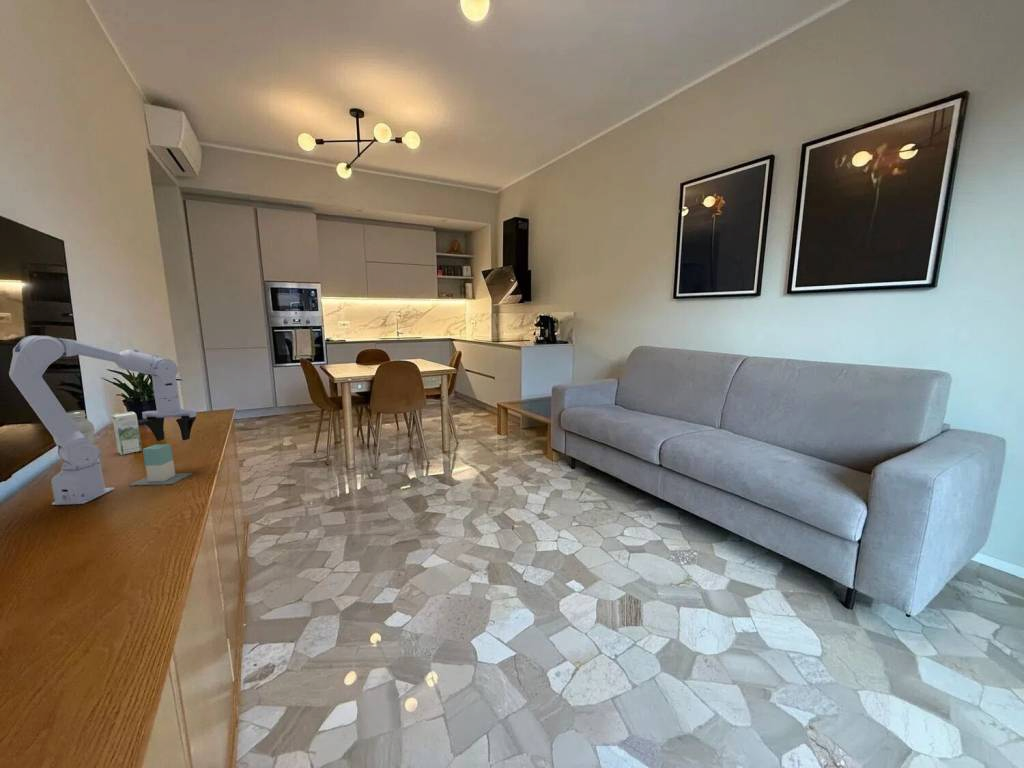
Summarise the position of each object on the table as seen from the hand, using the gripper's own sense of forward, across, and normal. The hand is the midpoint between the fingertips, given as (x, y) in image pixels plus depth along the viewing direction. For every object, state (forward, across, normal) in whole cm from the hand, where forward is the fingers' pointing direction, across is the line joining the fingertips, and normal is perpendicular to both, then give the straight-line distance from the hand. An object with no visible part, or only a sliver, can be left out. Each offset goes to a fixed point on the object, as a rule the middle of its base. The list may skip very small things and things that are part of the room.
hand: (173, 439), depth 129 cm
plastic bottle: (+11, +28, -1) cm, 30 cm away
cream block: (+10, 0, +7) cm, 12 cm away
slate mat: (+10, 0, +7) cm, 13 cm away
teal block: (+5, 0, +7) cm, 8 cm away
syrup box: (+11, +32, -22) cm, 40 cm away
